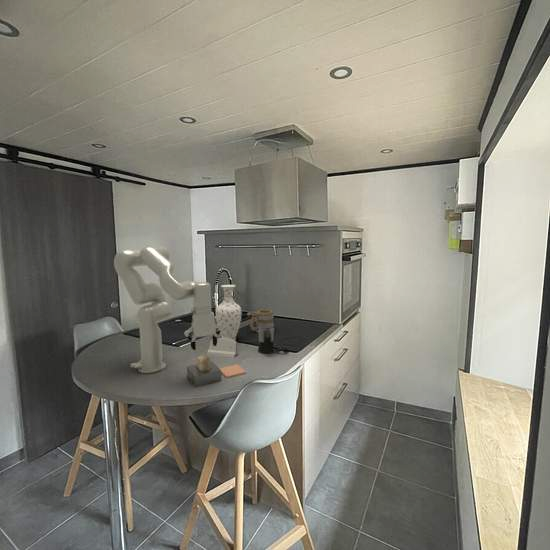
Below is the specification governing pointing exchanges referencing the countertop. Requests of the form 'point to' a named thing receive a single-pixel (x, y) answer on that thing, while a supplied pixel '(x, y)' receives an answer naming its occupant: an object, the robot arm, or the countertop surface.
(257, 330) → the tankard
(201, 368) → the peg
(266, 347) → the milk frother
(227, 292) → the vase
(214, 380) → the grey slotted holder
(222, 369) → the mat
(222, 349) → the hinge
